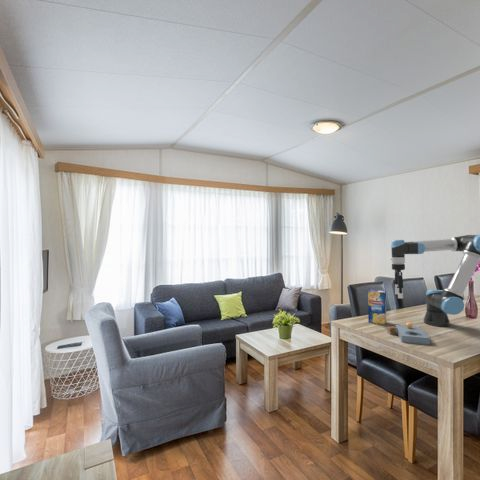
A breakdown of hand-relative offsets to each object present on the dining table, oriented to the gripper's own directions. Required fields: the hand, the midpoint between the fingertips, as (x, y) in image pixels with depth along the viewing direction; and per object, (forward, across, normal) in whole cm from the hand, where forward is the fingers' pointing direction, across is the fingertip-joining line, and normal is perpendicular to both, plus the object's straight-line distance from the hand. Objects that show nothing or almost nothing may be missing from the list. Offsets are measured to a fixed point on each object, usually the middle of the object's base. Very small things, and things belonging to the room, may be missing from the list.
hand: (399, 296), depth 197 cm
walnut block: (+21, +12, -6) cm, 25 cm away
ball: (+16, +10, +4) cm, 19 cm away
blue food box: (+21, -12, -12) cm, 27 cm away
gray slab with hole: (+21, +16, +4) cm, 27 cm away
